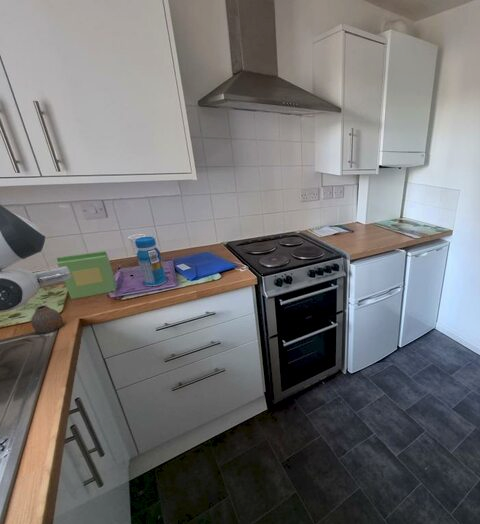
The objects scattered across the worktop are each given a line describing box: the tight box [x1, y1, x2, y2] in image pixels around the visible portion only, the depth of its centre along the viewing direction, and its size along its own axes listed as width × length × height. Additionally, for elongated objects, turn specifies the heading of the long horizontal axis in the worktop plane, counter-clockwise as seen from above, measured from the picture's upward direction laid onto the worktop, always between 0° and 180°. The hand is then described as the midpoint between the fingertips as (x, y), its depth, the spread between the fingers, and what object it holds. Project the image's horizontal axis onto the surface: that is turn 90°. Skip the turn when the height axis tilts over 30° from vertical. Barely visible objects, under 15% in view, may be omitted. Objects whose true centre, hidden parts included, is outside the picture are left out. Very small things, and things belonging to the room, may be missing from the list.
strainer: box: [127, 233, 147, 256], centre depth 148 cm, size 7×7×15 cm
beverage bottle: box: [134, 236, 167, 288], centre depth 125 cm, size 8×8×20 cm
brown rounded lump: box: [30, 305, 64, 334], centre depth 94 cm, size 7×7×9 cm
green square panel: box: [56, 250, 118, 300], centre depth 117 cm, size 14×5×16 cm, turn 122°
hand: (23, 280), depth 84 cm, fingers open, 8 cm apart
